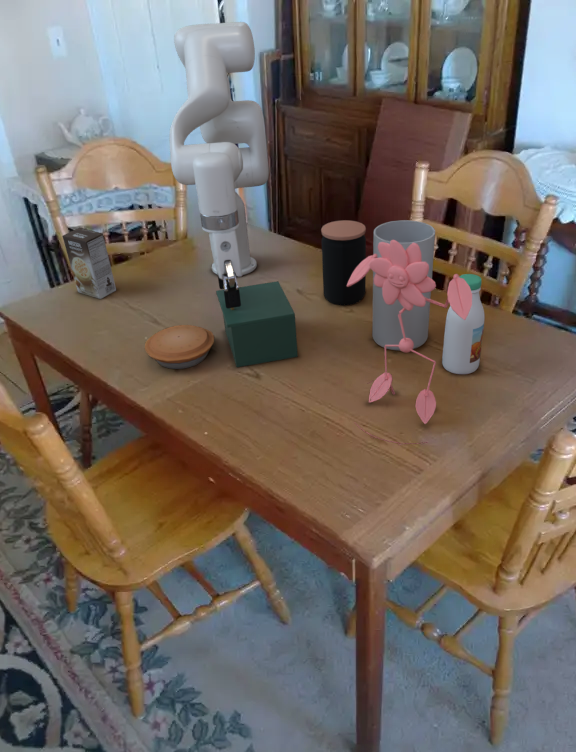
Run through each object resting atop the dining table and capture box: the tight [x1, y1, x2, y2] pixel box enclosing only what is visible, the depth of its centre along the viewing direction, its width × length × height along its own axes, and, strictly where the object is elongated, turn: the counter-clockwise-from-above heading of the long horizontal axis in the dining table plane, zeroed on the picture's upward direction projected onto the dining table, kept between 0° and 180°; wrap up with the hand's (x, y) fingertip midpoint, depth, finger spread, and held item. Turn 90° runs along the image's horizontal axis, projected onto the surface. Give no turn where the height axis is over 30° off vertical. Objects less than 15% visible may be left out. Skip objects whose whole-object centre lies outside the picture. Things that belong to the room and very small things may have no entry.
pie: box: [144, 324, 215, 370], centre depth 147 cm, size 15×16×5 cm
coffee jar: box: [320, 219, 367, 307], centre depth 162 cm, size 11×11×18 cm
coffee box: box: [61, 227, 117, 300], centre depth 173 cm, size 9×6×16 cm
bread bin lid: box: [215, 280, 296, 328], centre depth 144 cm, size 15×17×5 cm
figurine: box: [347, 240, 472, 446], centre depth 116 cm, size 15×26×35 cm, turn 48°
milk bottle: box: [441, 273, 486, 375], centre depth 134 cm, size 8×8×20 cm
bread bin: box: [222, 314, 299, 368], centre depth 148 cm, size 14×17×10 cm
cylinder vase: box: [371, 219, 436, 352], centre depth 143 cm, size 12×12×25 cm
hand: (230, 297), depth 143 cm, fingers open, 9 cm apart
